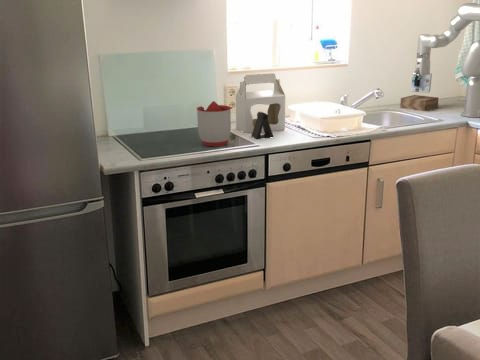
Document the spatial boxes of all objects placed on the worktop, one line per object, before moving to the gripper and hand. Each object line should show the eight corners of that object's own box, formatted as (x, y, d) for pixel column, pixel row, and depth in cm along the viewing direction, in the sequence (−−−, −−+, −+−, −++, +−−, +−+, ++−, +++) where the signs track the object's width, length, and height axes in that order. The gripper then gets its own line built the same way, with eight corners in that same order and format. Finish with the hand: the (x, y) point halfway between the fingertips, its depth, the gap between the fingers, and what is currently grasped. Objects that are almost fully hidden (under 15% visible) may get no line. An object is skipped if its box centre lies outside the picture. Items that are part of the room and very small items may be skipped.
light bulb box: (410, 92, 333) (412, 73, 330) (412, 90, 339) (413, 72, 335) (429, 93, 329) (431, 74, 326) (430, 91, 335) (432, 73, 331)
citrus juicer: (220, 138, 268) (219, 96, 262) (237, 145, 254) (237, 102, 247) (190, 142, 261) (189, 99, 255) (206, 150, 247) (205, 105, 240)
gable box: (274, 124, 296) (274, 71, 287) (285, 129, 284) (286, 74, 275) (235, 128, 288) (234, 74, 279) (245, 133, 276) (244, 77, 268)
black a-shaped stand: (268, 135, 273) (268, 110, 270) (273, 137, 268) (273, 112, 264) (251, 136, 270) (251, 112, 266) (256, 139, 265) (256, 114, 261)
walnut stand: (437, 107, 337) (438, 97, 335) (424, 111, 326) (425, 100, 324) (413, 104, 348) (414, 94, 346) (400, 107, 337) (400, 97, 335)
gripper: (421, 57, 319) (419, 87, 325) (436, 55, 331) (433, 84, 336) (409, 56, 324) (407, 86, 330) (424, 54, 336) (422, 83, 341)
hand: (420, 85), depth 333 cm, fingers closed on light bulb box, 8 cm apart
